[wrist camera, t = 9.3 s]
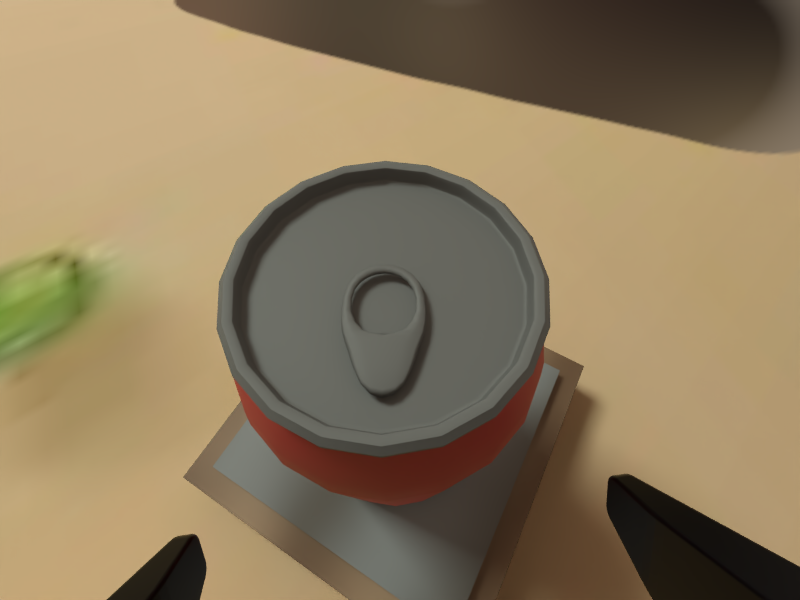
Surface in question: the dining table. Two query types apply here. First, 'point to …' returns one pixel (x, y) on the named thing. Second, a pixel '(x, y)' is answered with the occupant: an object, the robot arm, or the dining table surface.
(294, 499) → the walnut stand
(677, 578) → the robot arm
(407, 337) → the beer can
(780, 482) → the dining table surface
